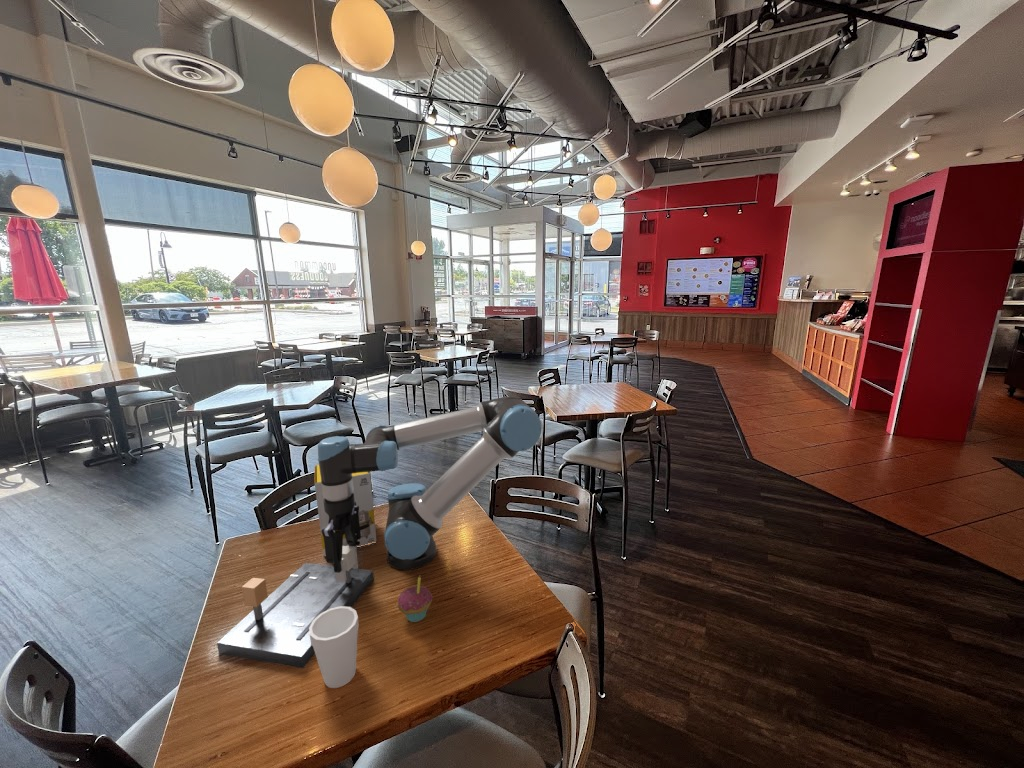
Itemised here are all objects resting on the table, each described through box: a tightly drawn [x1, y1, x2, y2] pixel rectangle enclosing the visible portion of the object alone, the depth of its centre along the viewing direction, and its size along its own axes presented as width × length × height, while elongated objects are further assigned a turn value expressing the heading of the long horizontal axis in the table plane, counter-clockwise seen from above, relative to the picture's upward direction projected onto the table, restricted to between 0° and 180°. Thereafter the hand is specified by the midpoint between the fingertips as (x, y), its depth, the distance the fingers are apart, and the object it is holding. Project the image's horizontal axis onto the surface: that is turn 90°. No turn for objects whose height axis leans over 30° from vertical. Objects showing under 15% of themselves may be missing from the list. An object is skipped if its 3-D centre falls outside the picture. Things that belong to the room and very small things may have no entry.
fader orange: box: [241, 577, 269, 620], centre depth 100 cm, size 3×3×10 cm
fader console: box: [216, 562, 375, 669], centre depth 107 cm, size 22×30×3 cm
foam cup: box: [309, 606, 360, 689], centre depth 88 cm, size 10×9×13 cm
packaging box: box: [314, 464, 377, 555], centre depth 139 cm, size 16×16×25 cm
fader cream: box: [342, 546, 356, 583], centre depth 113 cm, size 3×3×10 cm
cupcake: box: [397, 575, 433, 623], centre depth 104 cm, size 9×8×12 cm
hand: (347, 573), depth 113 cm, fingers open, 5 cm apart
